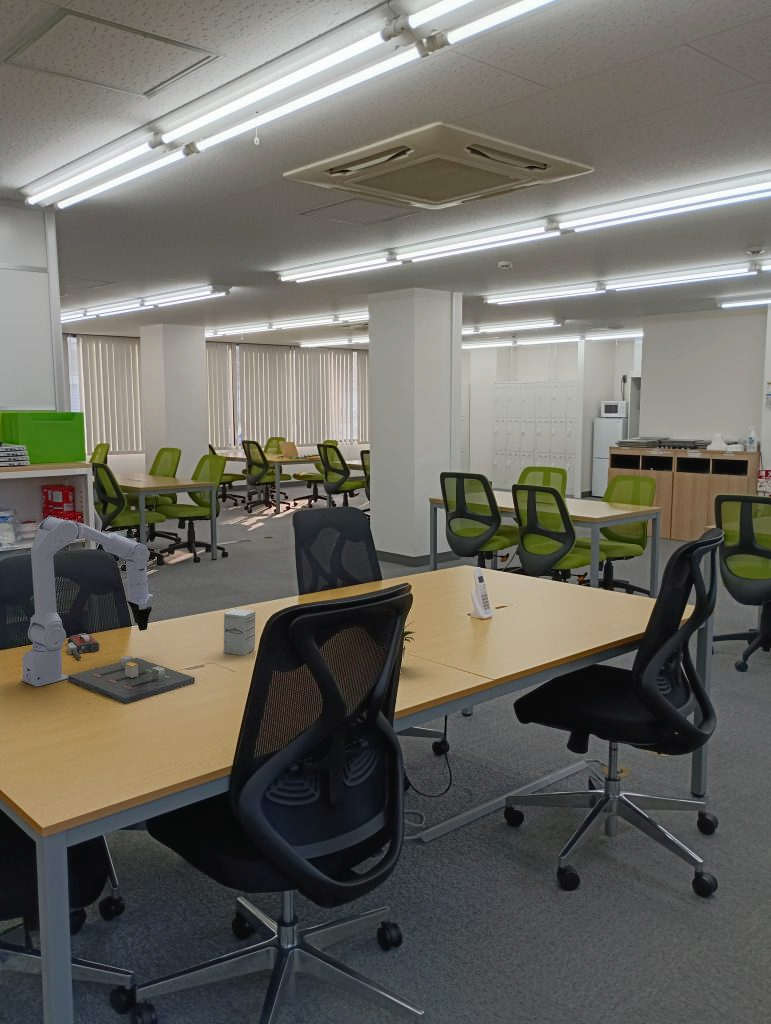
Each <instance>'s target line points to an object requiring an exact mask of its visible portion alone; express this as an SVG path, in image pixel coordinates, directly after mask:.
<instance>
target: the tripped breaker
mask: <svg viewBox="0 0 771 1024" xmlns="http://www.w3.org/2000/svg"><path fill="white" fill-rule="evenodd" d="M125 676H128V677H131V678H133V677H137V676H138V664H135V663H132V662H130V663H127V664H125Z"/></svg>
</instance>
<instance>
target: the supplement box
mask: <svg viewBox="0 0 771 1024" xmlns="http://www.w3.org/2000/svg"><path fill="white" fill-rule="evenodd" d="M256 612H257V611H256V610H249V609H242V608H234V609H231V610H228V611H226V612H225V613H224V614H223V654H230V653H231V654H232V655H237V654H239V655H238V656H243V655H245V654H246V655H248V654H249V653H248V652H250V651H252V650H253V651H255V650H254V649H256V648H255V646H256V645H255V644H256ZM253 651H252V652H253ZM247 653H248V654H247ZM250 653H251V652H250ZM246 655H245V656H246Z"/></svg>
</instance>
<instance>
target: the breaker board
mask: <svg viewBox="0 0 771 1024" xmlns="http://www.w3.org/2000/svg"><path fill="white" fill-rule="evenodd" d="M130 662H132V663H135V664H138V676H137V677H133V678H131V677H128V676H125V664H127V663H130ZM67 676H68V679H67V681H68V682H70V683H73V684H75V685H77V686H81V687H83V688H85V689H88V690H91V691H93V692H95V693H98V694H101V695H102V696H105V697H107V698H110V699H113V700H115V701H118V702H121V703H122V704H125V705H126V704H129V703H133V702H137V701H140V700H142V699H145V698H149V697H153V696H155V695H156V696H157V695H159V694H163V693H166V692H169V691H172V689H173V690H176V689H178V687H179V688H182V687H181V686H183V687H186V686H189V685H192V684H195V683H196V682H195V681H196V680H195V679H196V678H195V677H194V676H192V675H189V674H185V673H182V672H179V671H177V670H173V669H171V668H167V667H166V666H165V667H164V666H162V665H159V664H158V663H157V664H156V663H153V662H150V661H148V660H144V659H142V658H139V657H136V658H135V657H132V656H129V655H125V656H121V657H120V662H119V661H118V662H115V663H112V664H108V665H104V666H101V667H96V668H92V669H87V670H85V671H80V672H78V673H77V672H76V673H72V674H69V675H67ZM194 682H195V683H194ZM191 683H192V684H191ZM188 684H189V685H188ZM185 685H186V686H185ZM175 688H176V689H175Z"/></svg>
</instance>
